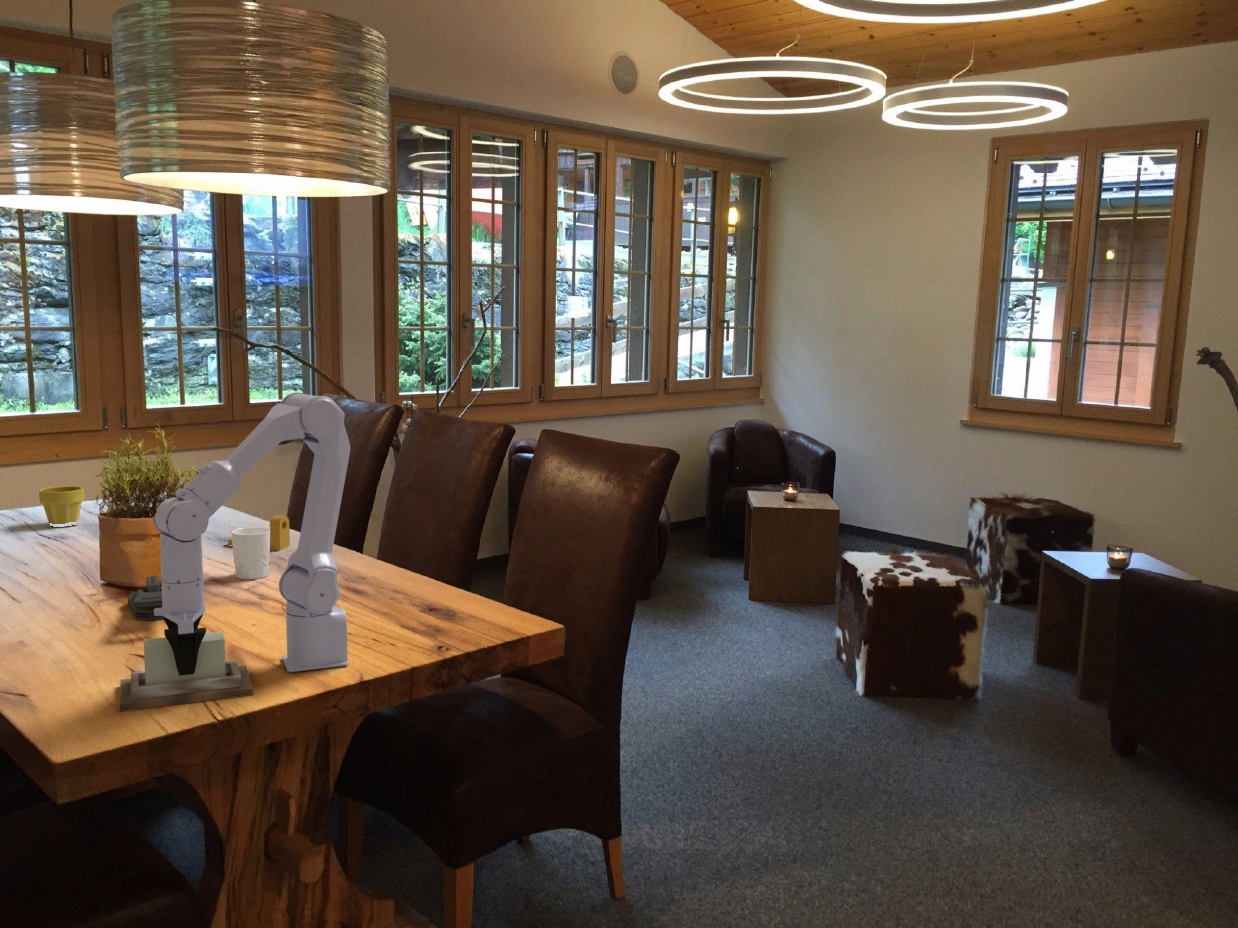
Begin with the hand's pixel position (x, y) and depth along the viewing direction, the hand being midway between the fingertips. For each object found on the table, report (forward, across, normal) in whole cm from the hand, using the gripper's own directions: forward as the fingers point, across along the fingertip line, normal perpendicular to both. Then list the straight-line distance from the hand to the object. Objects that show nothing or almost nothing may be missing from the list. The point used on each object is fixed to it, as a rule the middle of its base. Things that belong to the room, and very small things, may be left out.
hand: (185, 666), depth 154 cm
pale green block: (+3, 0, 0) cm, 3 cm away
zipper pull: (+4, -42, -4) cm, 43 cm away
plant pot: (+4, -139, -24) cm, 141 cm away
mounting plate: (+4, 0, 0) cm, 4 cm away
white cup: (+4, -68, +16) cm, 70 cm away
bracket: (+4, -97, +20) cm, 99 cm away
